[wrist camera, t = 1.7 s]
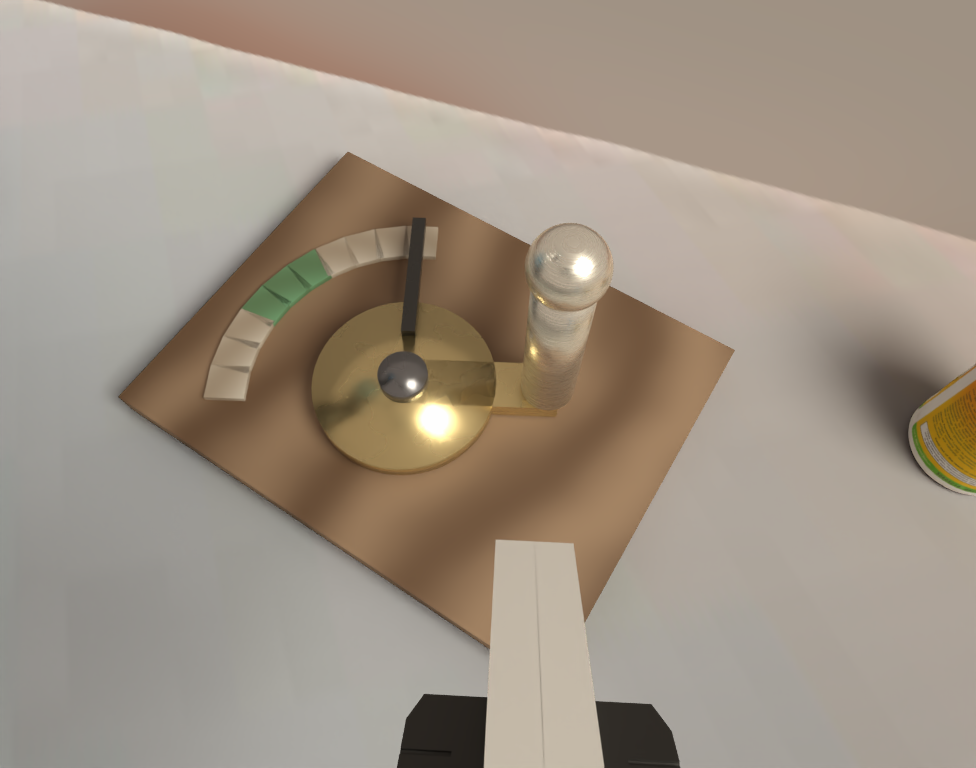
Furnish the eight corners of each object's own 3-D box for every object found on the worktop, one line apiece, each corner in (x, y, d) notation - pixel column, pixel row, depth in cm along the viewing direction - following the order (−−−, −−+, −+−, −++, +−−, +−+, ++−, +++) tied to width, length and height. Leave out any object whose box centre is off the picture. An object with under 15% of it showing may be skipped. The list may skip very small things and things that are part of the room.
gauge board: (131, 408, 38) (115, 394, 36) (352, 169, 45) (347, 148, 43) (547, 687, 32) (550, 685, 30) (726, 363, 39) (736, 347, 37)
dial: (269, 409, 36) (169, 260, 24) (418, 230, 40) (392, 35, 29) (487, 546, 33) (487, 451, 22) (620, 336, 38) (678, 167, 26)
